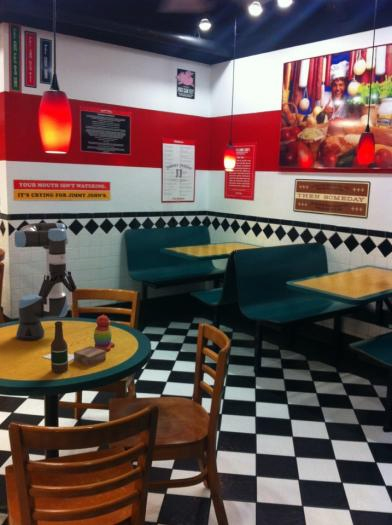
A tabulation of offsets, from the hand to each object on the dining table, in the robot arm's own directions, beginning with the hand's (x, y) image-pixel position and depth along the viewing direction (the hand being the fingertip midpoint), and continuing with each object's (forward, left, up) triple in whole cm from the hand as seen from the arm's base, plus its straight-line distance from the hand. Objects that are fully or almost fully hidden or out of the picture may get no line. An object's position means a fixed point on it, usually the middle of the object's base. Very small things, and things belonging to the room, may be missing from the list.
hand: (58, 308), depth 235 cm
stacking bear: (-6, +35, -31) cm, 47 cm away
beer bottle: (0, 0, -31) cm, 31 cm away
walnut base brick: (+2, +18, -31) cm, 36 cm away
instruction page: (-13, +12, -31) cm, 36 cm away
